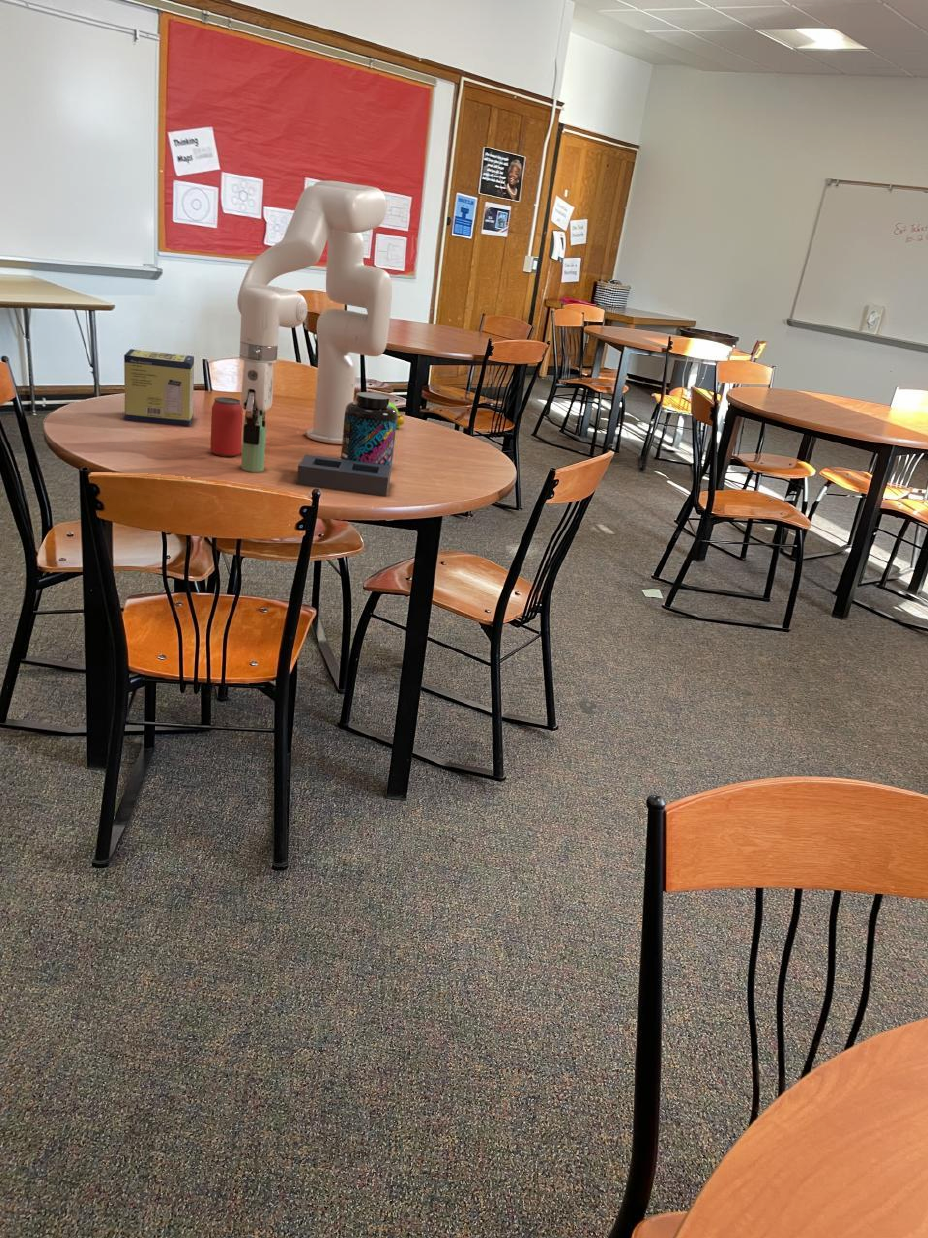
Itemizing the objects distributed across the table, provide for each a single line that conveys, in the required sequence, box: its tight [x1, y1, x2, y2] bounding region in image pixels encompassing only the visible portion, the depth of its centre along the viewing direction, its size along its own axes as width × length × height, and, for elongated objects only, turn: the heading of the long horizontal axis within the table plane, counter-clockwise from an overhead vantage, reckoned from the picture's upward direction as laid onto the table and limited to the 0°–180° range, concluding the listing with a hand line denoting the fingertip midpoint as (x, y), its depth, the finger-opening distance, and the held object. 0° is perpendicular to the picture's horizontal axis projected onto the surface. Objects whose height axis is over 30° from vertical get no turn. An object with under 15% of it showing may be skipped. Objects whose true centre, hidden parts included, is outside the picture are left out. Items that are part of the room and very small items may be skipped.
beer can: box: [209, 396, 244, 458], centre depth 199 cm, size 7×7×12 cm
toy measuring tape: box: [388, 401, 405, 430], centre depth 255 cm, size 6×19×7 cm, turn 58°
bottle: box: [240, 414, 267, 473], centre depth 190 cm, size 5×5×12 cm
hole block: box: [296, 453, 392, 497], centre depth 191 cm, size 11×19×4 cm, turn 91°
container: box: [340, 391, 397, 467], centre depth 207 cm, size 12×12×17 cm
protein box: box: [123, 348, 195, 427], centre depth 220 cm, size 10×16×16 cm
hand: (253, 439), depth 190 cm, fingers closed on bottle, 4 cm apart
